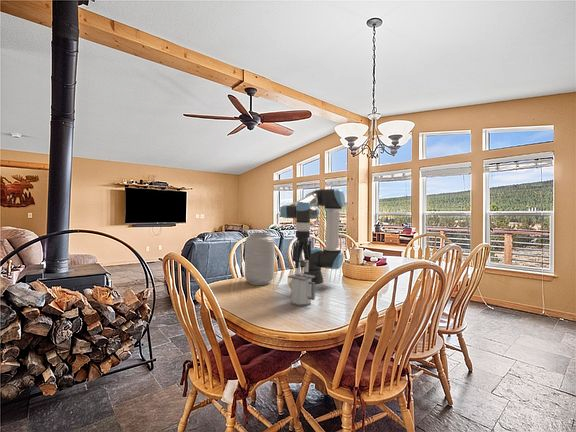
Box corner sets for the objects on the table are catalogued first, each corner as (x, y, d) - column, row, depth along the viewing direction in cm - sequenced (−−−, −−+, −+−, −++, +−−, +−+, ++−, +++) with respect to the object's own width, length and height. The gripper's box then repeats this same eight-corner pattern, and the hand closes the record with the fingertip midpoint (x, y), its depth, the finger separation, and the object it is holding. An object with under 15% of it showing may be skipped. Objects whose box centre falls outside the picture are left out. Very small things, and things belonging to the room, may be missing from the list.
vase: (279, 281, 209) (280, 233, 208) (262, 288, 192) (263, 235, 191) (256, 277, 219) (257, 231, 218) (238, 283, 202) (239, 233, 201)
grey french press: (298, 298, 171) (299, 272, 170) (319, 304, 162) (319, 276, 162) (287, 303, 162) (287, 276, 162) (308, 308, 154) (308, 280, 154)
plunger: (299, 289, 168) (300, 259, 167) (310, 291, 164) (310, 260, 163) (292, 291, 163) (293, 260, 162) (302, 294, 158) (303, 262, 158)
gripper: (307, 229, 172) (306, 269, 173) (285, 230, 157) (284, 274, 157) (318, 230, 168) (317, 271, 168) (297, 231, 152) (296, 277, 153)
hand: (301, 272), depth 163 cm, fingers open, 7 cm apart
